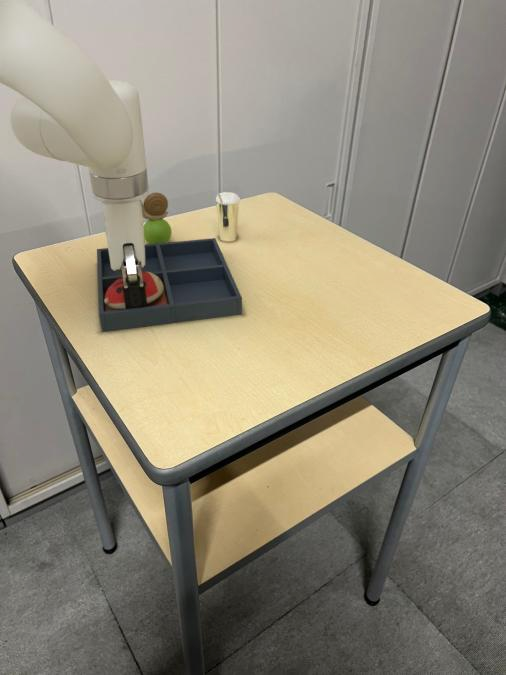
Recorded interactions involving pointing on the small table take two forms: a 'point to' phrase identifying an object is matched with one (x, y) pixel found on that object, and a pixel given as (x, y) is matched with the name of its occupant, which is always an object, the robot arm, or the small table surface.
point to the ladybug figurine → (116, 295)
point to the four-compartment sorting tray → (174, 286)
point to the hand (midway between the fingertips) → (134, 293)
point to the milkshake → (227, 215)
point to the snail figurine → (156, 219)
